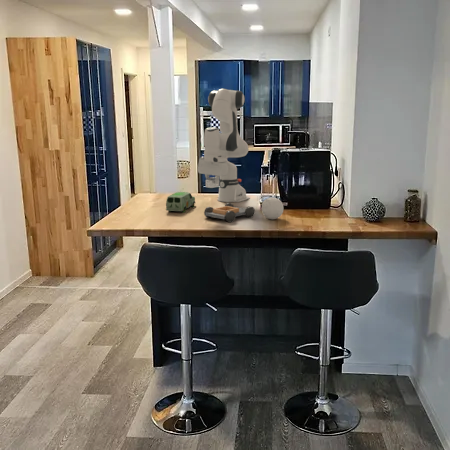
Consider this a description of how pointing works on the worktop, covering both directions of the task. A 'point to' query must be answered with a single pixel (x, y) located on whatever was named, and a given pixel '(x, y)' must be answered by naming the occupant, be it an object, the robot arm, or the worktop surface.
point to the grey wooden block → (211, 182)
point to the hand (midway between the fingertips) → (212, 183)
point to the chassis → (229, 212)
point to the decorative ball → (272, 208)
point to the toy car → (179, 201)
